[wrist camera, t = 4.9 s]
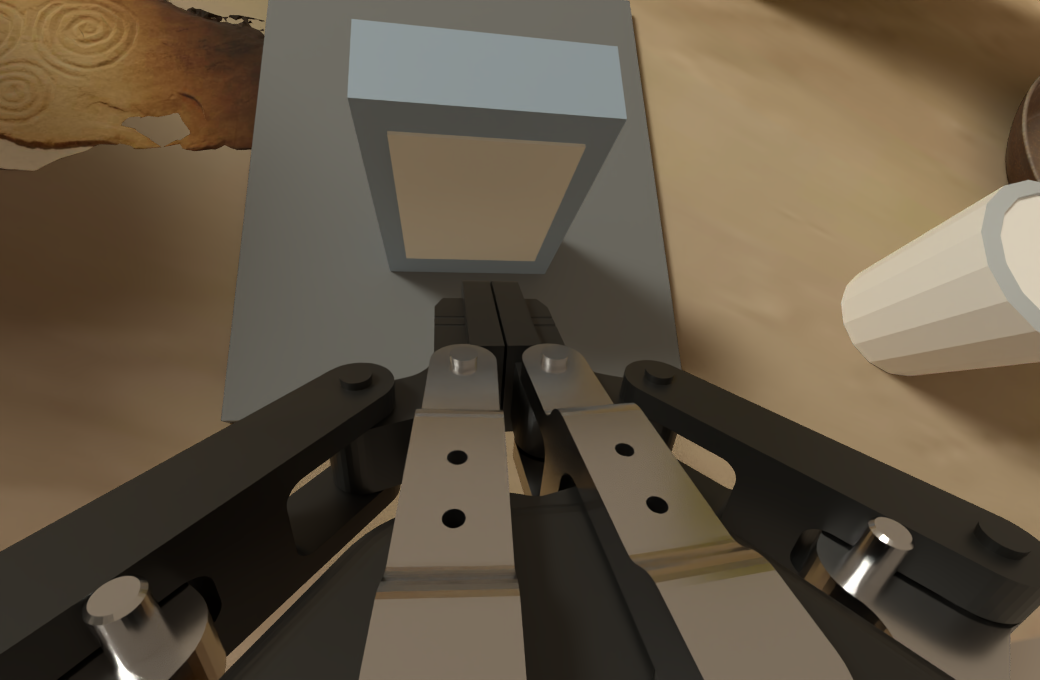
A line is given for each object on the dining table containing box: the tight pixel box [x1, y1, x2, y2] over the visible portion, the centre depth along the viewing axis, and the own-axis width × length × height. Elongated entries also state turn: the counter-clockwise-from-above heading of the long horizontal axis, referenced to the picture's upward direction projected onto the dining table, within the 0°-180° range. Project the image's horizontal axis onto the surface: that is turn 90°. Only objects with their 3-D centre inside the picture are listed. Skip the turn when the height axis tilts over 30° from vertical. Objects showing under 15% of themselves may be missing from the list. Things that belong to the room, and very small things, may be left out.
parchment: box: [0, 0, 265, 171], centre depth 20 cm, size 25×10×1 cm, turn 93°
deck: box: [347, 19, 627, 274], centre depth 16 cm, size 6×2×10 cm, turn 93°
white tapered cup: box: [841, 180, 1040, 376], centre depth 20 cm, size 7×7×7 cm
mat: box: [221, 0, 682, 423], centre depth 22 cm, size 18×22×1 cm
